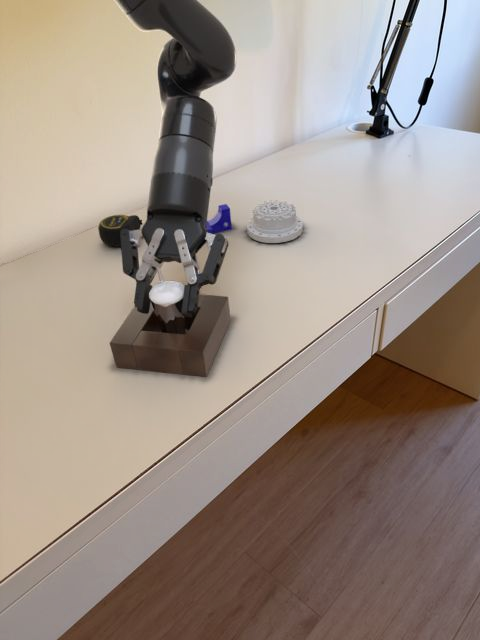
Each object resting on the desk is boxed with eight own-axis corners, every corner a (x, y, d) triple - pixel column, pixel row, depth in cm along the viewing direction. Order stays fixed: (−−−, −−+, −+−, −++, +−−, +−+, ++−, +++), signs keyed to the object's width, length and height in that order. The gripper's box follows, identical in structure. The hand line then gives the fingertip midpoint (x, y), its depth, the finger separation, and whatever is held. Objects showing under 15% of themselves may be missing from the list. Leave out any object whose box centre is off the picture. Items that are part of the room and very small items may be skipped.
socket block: (116, 367, 67) (109, 342, 64) (150, 313, 76) (145, 290, 73) (206, 377, 65) (202, 352, 62) (230, 320, 74) (228, 296, 71)
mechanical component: (251, 247, 90) (308, 241, 91) (249, 224, 87) (308, 217, 88) (243, 222, 98) (296, 216, 98) (242, 200, 95) (296, 193, 96)
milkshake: (186, 326, 73) (175, 263, 67) (198, 348, 69) (188, 283, 63) (154, 335, 72) (140, 272, 65) (165, 358, 68) (151, 292, 62)
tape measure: (135, 250, 91) (130, 230, 89) (96, 250, 92) (91, 230, 89) (144, 231, 96) (140, 212, 94) (108, 232, 97) (103, 213, 95)
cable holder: (191, 241, 93) (188, 220, 90) (186, 233, 95) (183, 212, 93) (234, 232, 95) (232, 211, 92) (228, 224, 97) (226, 204, 95)
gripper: (115, 168, 64) (96, 304, 63) (229, 171, 62) (212, 314, 60) (140, 192, 72) (123, 315, 70) (242, 196, 69) (227, 324, 68)
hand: (164, 313), depth 65 cm, fingers open, 5 cm apart
